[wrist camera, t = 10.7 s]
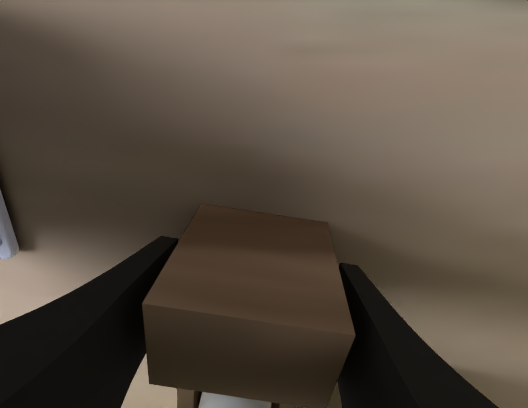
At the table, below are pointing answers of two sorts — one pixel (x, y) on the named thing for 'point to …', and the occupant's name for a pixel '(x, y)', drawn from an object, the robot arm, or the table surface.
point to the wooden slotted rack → (249, 313)
